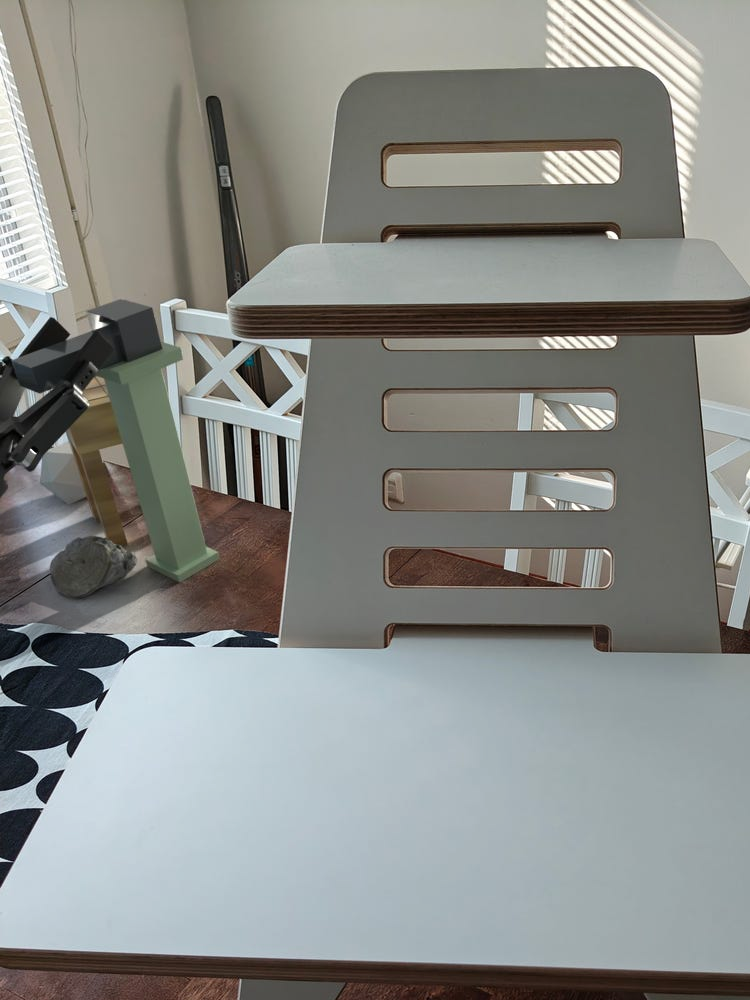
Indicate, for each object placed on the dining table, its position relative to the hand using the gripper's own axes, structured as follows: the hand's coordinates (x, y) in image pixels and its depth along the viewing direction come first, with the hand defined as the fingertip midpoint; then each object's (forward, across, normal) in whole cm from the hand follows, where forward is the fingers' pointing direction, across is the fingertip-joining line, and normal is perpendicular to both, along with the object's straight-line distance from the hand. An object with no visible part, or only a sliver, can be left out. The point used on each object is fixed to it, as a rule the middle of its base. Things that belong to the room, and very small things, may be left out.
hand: (82, 332), depth 111 cm
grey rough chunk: (-21, -7, -27) cm, 35 cm away
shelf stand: (-13, 0, -32) cm, 34 cm away
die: (-10, -29, -34) cm, 46 cm away
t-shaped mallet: (-2, 0, -3) cm, 4 cm away
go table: (-9, -15, -34) cm, 38 cm away
